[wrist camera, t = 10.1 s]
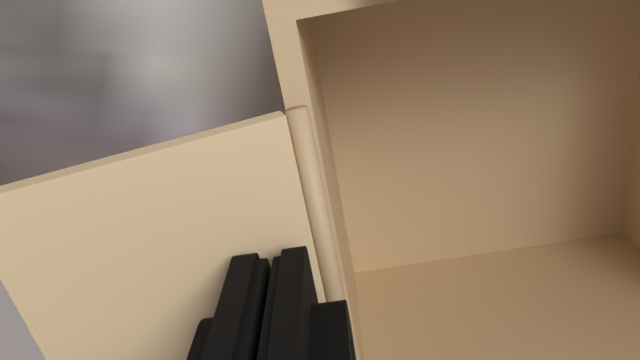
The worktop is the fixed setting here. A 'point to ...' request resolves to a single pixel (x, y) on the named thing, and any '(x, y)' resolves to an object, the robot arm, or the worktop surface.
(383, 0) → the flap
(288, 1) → the carton
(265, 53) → the worktop surface
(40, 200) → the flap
